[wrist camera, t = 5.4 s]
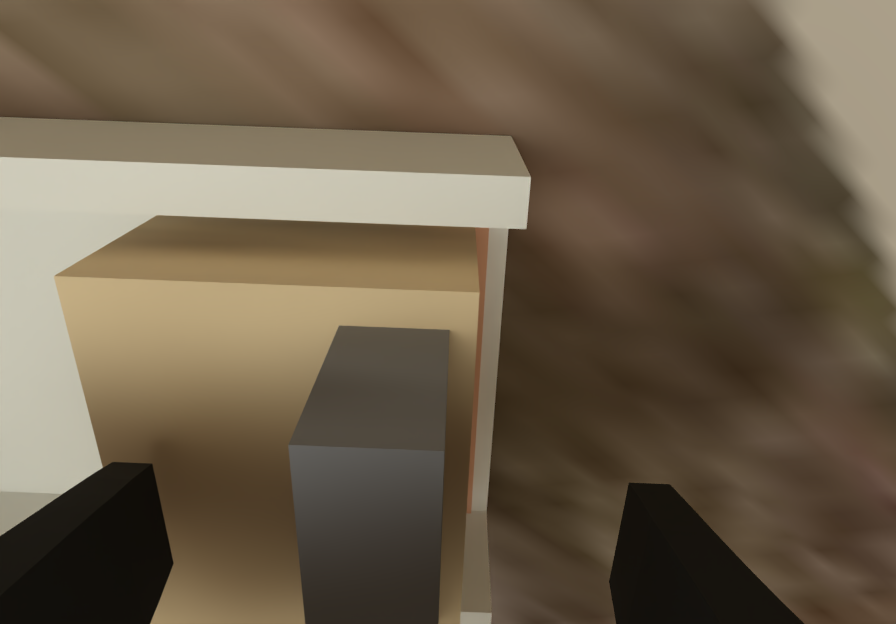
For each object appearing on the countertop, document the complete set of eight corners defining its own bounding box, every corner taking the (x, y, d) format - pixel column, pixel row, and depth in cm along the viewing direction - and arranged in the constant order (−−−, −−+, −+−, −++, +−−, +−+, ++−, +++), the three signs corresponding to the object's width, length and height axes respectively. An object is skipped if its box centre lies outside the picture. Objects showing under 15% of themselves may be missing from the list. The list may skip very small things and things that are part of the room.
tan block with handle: (459, 495, 15) (458, 815, 9) (220, 486, 15) (53, 797, 9) (474, 215, 12) (486, 402, 6) (175, 204, 12) (-121, 378, 6)
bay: (483, 507, 17) (489, 638, 13) (-34, 486, 17) (-171, 610, 13) (511, 135, 13) (531, 176, 9) (-177, 110, 13) (-435, 140, 9)
